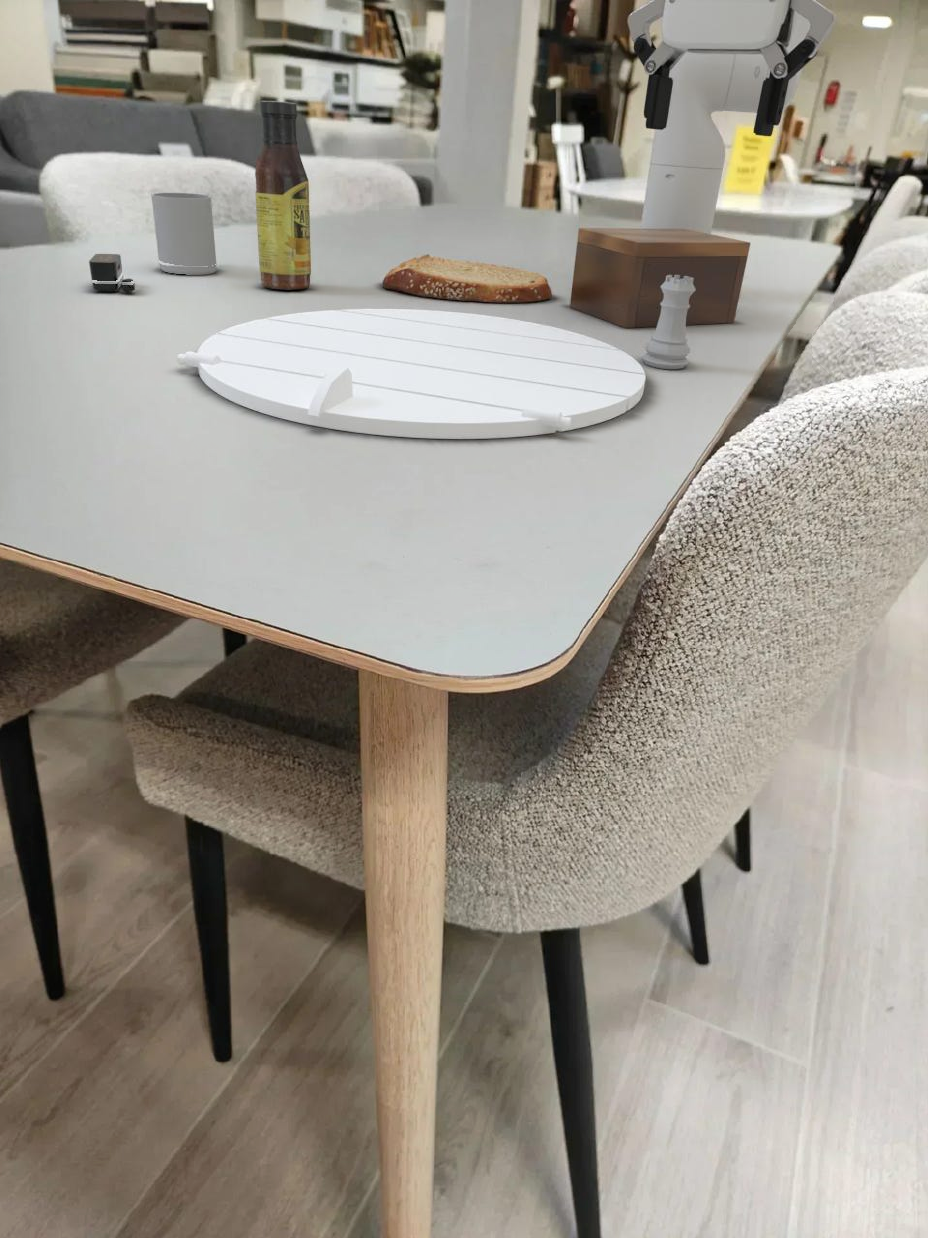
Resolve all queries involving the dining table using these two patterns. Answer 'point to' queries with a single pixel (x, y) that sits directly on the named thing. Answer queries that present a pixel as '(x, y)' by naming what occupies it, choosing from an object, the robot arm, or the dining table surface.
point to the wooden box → (656, 274)
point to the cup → (184, 232)
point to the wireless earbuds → (108, 273)
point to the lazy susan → (419, 373)
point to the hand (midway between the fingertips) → (707, 131)
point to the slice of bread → (466, 281)
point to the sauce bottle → (282, 202)
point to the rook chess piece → (671, 326)
